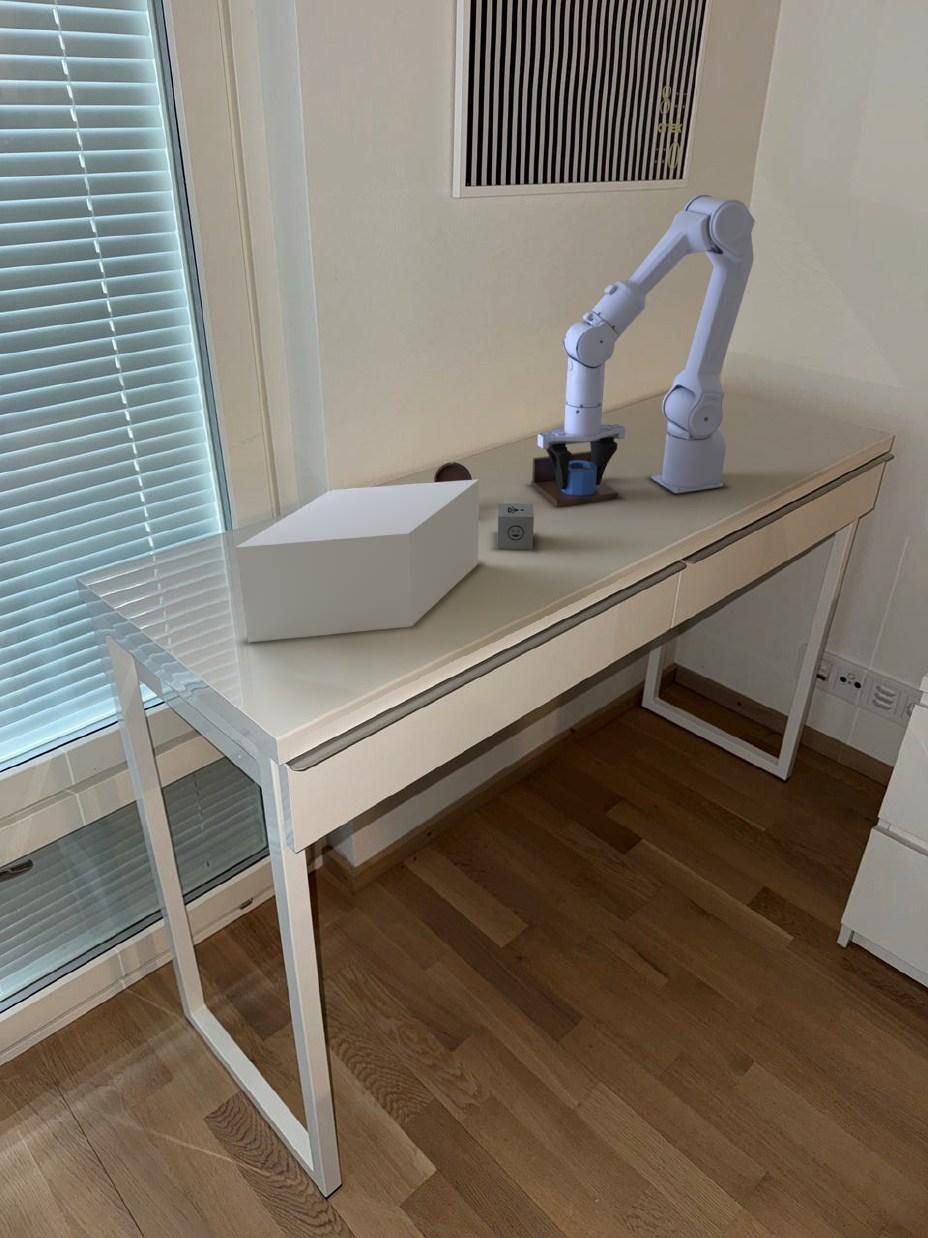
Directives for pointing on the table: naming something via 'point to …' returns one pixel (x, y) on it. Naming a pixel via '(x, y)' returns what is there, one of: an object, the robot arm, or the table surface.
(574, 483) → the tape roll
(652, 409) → the table surface
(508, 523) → the dice cube
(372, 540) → the block
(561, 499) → the holder
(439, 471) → the compass
